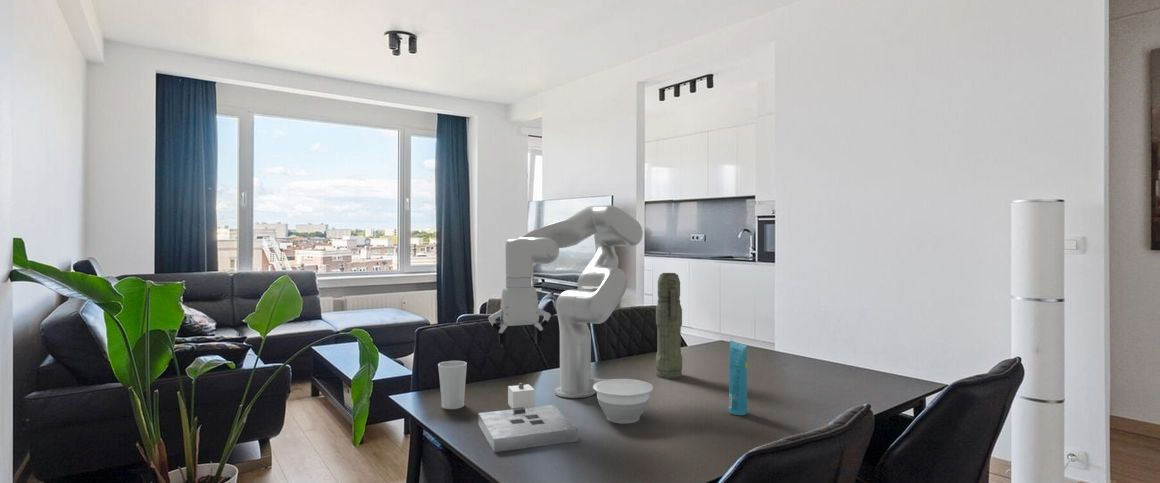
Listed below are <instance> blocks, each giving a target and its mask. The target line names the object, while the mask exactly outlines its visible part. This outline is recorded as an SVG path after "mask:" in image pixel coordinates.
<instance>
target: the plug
mask: <svg viewBox="0 0 1160 483" xmlns="http://www.w3.org/2000/svg"><path fill="white" fill-rule="evenodd" d="M535 394H536V392H535V389H534V388H533V386H532V385H530V384H527V383H526V384H525V383H523V382H519V383H518V385H508V386H507V404H508V406H509V407H510V410H512V408H518V407H524V408H530V407H536V406H535V405H536V404H535V403H536V401H535V400H536V399H535V398H536V396H535Z"/></svg>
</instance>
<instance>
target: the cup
mask: <svg viewBox="0 0 1160 483" xmlns="http://www.w3.org/2000/svg"><path fill="white" fill-rule="evenodd" d="M467 363H468V362H466V361H464V360H463V361H462V360H448V361H441V362H439V363H438V364H437V368H438V376H439V385H440V386H439V388H440V397H441V398H440V399H441V400H440V401H441V408H442V409H445V410H457V409H461V408H464V406H465V395H466V394H465V393H466V392H465V391H466V380H467V378H466V377H467Z"/></svg>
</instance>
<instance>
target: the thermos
mask: <svg viewBox="0 0 1160 483" xmlns="http://www.w3.org/2000/svg"><path fill="white" fill-rule="evenodd" d="M680 297H681V281H680V276H679V274H677V273H676V272H662V273H660V274H659V276H658V279H657V298H658V299H657V304H656V308H655V324H656V328H657V331H656V334H657V338H656V339H657V347H656V348H657V350H656V355H655V368H656V374H655V375H656V377H658V378H661V379H668V380H671V379H672V380H673V379H674V380H677V379H680V378H682V376H683V373H682V371H683V356H682V353H681V352H682V348H681V347H682V344H681V342H682V340H681V339H682V337H681V336H682V334H681V333H682V332H681V330H682V329H681V328H682V325H683V309H682V304H681V299H680Z"/></svg>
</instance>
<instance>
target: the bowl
mask: <svg viewBox="0 0 1160 483" xmlns="http://www.w3.org/2000/svg"><path fill="white" fill-rule="evenodd" d="M593 388H594V390H596V397H597V402H598V404H599V406H600V408H601V410H602V412H603V414H604V415H605V416H606V419H607V421H609V422H612V423H615V424H632V423H636V422H639V421H640V418H641V415H642V414H643V413H644V411H645V409H646V408H647V406H648V404H649V400H650V393H651V392H652V391H653V390H654V385H653V384H651V383H649V382H647V381H643V380H639V379H632V378H611V379H609V378H608V379H605V380H603V381H600V382H597V383H595V384H594V386H593Z"/></svg>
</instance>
